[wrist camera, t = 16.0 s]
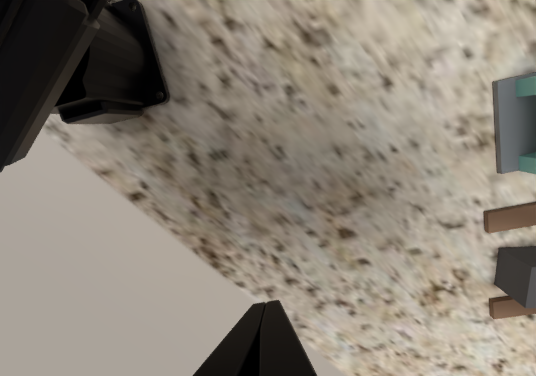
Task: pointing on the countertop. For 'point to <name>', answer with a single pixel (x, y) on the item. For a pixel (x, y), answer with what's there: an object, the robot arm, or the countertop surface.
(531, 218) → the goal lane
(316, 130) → the countertop surface
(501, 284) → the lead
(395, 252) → the countertop surface
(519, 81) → the notched teal box
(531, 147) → the coaster
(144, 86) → the robot arm
